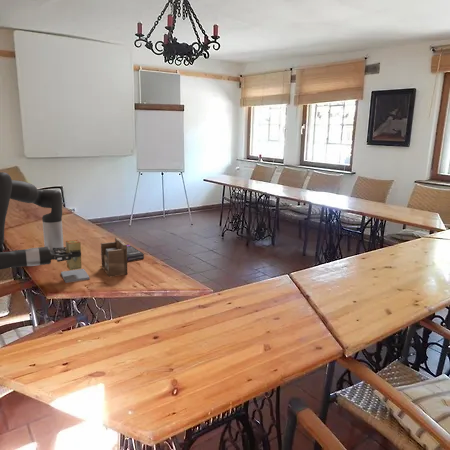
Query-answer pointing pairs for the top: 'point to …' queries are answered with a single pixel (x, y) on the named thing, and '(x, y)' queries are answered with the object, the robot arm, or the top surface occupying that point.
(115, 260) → the offcut rack
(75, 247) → the shoe polish box
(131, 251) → the box
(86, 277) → the rubber mat
